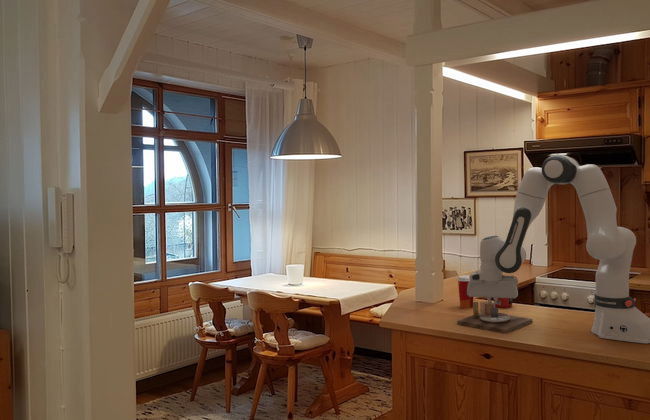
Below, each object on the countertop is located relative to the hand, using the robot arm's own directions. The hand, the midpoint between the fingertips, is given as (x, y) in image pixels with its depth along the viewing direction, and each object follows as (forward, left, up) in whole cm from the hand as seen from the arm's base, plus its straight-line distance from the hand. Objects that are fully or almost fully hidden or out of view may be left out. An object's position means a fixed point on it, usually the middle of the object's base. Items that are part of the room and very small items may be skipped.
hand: (492, 307), depth 241 cm
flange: (-3, +5, -3) cm, 7 cm away
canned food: (+8, -21, -5) cm, 23 cm away
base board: (-4, +6, -5) cm, 9 cm away
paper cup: (+20, -10, -5) cm, 23 cm away
